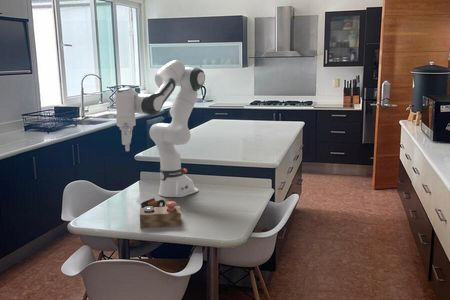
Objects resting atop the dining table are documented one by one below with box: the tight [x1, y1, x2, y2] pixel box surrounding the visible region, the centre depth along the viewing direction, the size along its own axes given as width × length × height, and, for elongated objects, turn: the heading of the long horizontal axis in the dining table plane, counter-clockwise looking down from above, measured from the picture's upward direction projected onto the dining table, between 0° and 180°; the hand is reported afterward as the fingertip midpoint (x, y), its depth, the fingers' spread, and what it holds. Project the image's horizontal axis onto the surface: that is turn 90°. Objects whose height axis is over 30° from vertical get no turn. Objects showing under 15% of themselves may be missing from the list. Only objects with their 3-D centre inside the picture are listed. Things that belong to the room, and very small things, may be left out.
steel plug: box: [144, 206, 154, 212], centre depth 210 cm, size 5×5×7 cm
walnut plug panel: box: [139, 205, 182, 229], centre depth 211 cm, size 18×10×6 cm, turn 98°
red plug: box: [165, 200, 177, 211], centre depth 211 cm, size 5×5×7 cm
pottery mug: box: [140, 197, 166, 208], centre depth 226 cm, size 12×10×8 cm
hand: (127, 150), depth 224 cm, fingers closed
